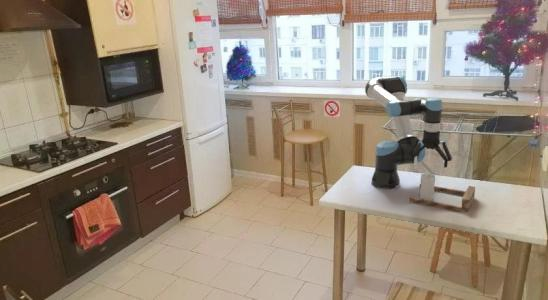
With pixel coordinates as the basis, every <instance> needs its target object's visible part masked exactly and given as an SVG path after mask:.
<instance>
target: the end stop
mask: <svg viewBox="0 0 548 300" xmlns="http://www.w3.org/2000/svg"><path fill="white" fill-rule="evenodd" d="M465 191H466V192H465V194H464V196H463V195H462V199H461V212H462V211H463V212H469V210H470V208H471V206H472V204H473V202H474V199H475V194H476V193H475V192H476V186H472V185H468V186H467V188H466V190H465Z"/></svg>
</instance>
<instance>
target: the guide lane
mask: <svg viewBox="0 0 548 300" xmlns="http://www.w3.org/2000/svg"><path fill="white" fill-rule="evenodd" d="M420 186H421V183H419V187H420ZM435 191H436V192H440V191H441V192H442V193H447V194H454V195H459V196H462V197H463V196H464V194H465V192H466V190H461V189H460V190H459V189H455V188H449V187H443V186H438V185H434V192H435ZM408 201H409V202H410V203H415V204H419V205H424V206H430V207H435V208H439V209H444V210H448V211H449V210H450V211H455V212H460V213H461V212H462V210H461V208H462V206H458V205H453V204H447V203H443V202H438V201H433V200H424V199H421V198H418V197H413V196H412V197H411V196H410V197H409V199H408Z"/></svg>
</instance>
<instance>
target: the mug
mask: <svg viewBox="0 0 548 300" xmlns="http://www.w3.org/2000/svg"><path fill="white" fill-rule="evenodd" d="M435 182H436V175H435V174H433V173H429V172H427V173H426V172H425V173H421V174H420V184H421V186H420V185H419V189H420V191H419V199H423V200H428V201H432V200H433V199H434V194H435V193H434V192H435V190H434V186H436V185H435Z"/></svg>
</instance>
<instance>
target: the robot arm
mask: <svg viewBox="0 0 548 300" xmlns="http://www.w3.org/2000/svg"><path fill="white" fill-rule="evenodd" d="M407 87H408V84H407V81H406V79H405V78H404V77H403V76H402V75H391V76H377V77H373V78H371V79H370V80H369V81H367V82H366V84H365V88H364V93H365V95H366V96H367V97H368V98H369V99H370V100H374V101H376V102H377V103H378V104H380V105H381V106H382V107H384V108H385V113H386V114H387V116H388V117H390V118H391V117H392V120H393V121H392V122H393V125H394V127H395V132H396V135H397V138H398V140H396V141H395V140H383V141H380V142H379V143H377V145H376V147H375V152H374V155H375V162H374V163H375V164H374V165H375V166H374V167H375V168H374V172H373V174H372V177H371V184H372V186H374V187H377V188H380V189H393V188H394V189H395V188H397V187H399V186H400V184H401V183H400V182H401V179H400V176H399V171H398V166H400V165H402V166H403V165H411V164H413V170H415V171H416V170H417V168H418V163H421V162H423V161H424V159H425V155H426V151H427V150H426V149H428V150H429V149H430V150H435V151H436V152H437V153H438V154H439V156H440V157H441V158H442V160H443V161H442V164H441V165H442V166H441V167H442V168H441V175H444V174H445V171H446V168H447V167H448V162H451V161H452V160H453V156H452V154H451V152H450V150H449V148H448V145H447V140H443V141H441V139H440V136H441V135H440V134H441V133H440V132H441V125H442V124H441V123H442V122H441V121H442V111H443V101H442V100H443V99H441V98H438V97H428V98H424V97H416V98H415V99H408V100H406V99H405V97H406V95H407V92H408V88H407ZM404 99H405V100H404ZM416 115H422V116H424V121H423V132H422V133H423V135H422V136H423V137H422V138H420V137H418V135H417V136H416V135H415V133H414V129H413V127H412V123H411V120H410V116H416ZM440 145H441V146H442V149H443V150H444V151H443V150H442V149H441V147H440Z"/></svg>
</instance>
